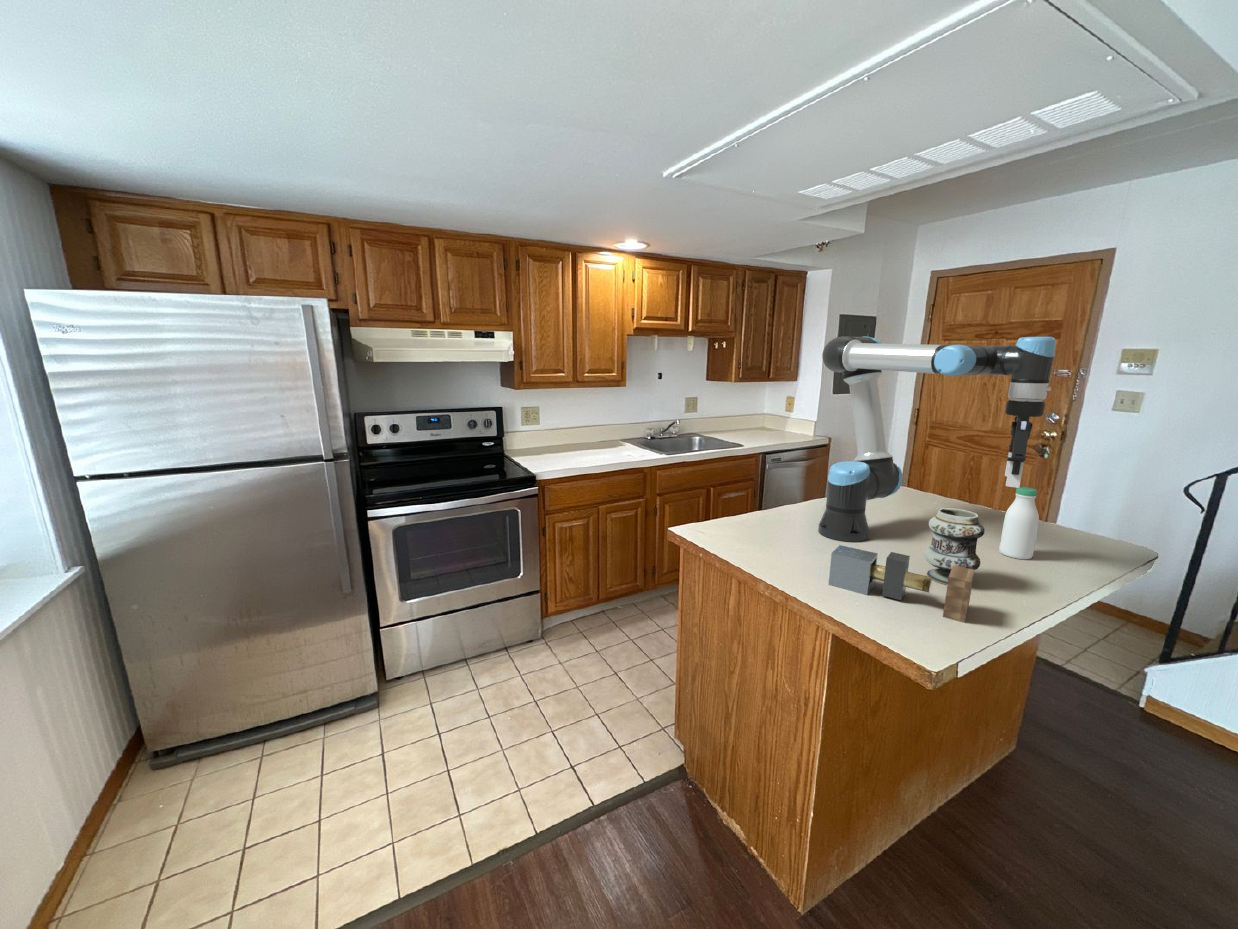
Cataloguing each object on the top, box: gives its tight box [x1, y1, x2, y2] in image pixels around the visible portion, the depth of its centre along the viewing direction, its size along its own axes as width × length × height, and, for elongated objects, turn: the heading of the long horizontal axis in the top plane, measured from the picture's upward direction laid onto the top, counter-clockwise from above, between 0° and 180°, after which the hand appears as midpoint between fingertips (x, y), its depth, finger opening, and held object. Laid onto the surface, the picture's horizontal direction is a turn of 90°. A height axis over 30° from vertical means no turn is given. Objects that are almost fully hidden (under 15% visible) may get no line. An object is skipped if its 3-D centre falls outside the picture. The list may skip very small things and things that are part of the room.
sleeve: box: [828, 544, 879, 596], centre depth 122 cm, size 9×7×8 cm
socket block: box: [942, 565, 975, 623], centre depth 109 cm, size 4×8×10 cm, turn 140°
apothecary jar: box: [923, 507, 986, 586], centre depth 125 cm, size 12×12×18 cm
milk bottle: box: [998, 486, 1040, 560], centre depth 140 cm, size 8×8×20 cm
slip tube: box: [870, 551, 933, 601], centre depth 118 cm, size 20×5×10 cm, turn 50°
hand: (1011, 481), depth 127 cm, fingers open, 13 cm apart
